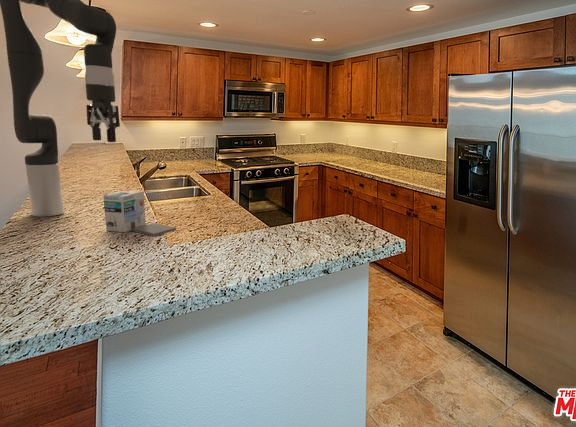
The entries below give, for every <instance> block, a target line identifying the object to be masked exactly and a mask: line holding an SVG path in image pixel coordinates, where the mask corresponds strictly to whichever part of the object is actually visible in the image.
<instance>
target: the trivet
mask: <svg viewBox="0 0 576 427" xmlns="http://www.w3.org/2000/svg"><path fill="white" fill-rule="evenodd" d="M131 231H132V232H136V233H139V234H142V235H147V236H151V237H157V236H161V235H163V234H164V235H165V234H168V233H172V232H176V231H177V227H174V226H169V225H164V224H162V223H157V222H152V223H151V222H150V223H146V225H143V226H138V227H134V228H132V230H131Z"/></svg>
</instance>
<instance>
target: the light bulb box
mask: <svg viewBox="0 0 576 427" xmlns="http://www.w3.org/2000/svg"><path fill="white" fill-rule="evenodd" d="M102 198H103V206H104V208H103V209H104V218H105V219H104V220H105V229H106V231H107V232H119V233H128V232H130V231H132V228H134V227H138V226H143V225H147V223H146V209H145V208H146V206H145V192H144V191H143V190H132V189H131V190H129V189H123V190H120V191H116V192H111V193H107V194H103V197H102Z"/></svg>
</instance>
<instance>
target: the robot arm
mask: <svg viewBox="0 0 576 427" xmlns="http://www.w3.org/2000/svg"><path fill="white" fill-rule="evenodd" d="M21 3H23V4H26V5H31V6H33V5H34V6H37V7H38V6H39V7H43V8H46V9H48V10H49V11H50V13H52V14H53V15H54V16H56V17H57V18H59V19H60V20H62V21H65V22H67V23H69V24H70V25H71V26H73V27H74V28H76V29H77V30H78V31H80V32H83V33H85V34H88V35H91V36H96V38H95V42H94V43H88V44H85V46H84V47H83V56H84V66H85V67H84V80H85V93H86V99H87V100H88V101H89V102H91V103H92V104H86V123H87V125H88V126H90V128H91V130H92V139H93V141H101V140H102V133H101V125H102V123H103V124H104V125H105V127H106V139H107V143H116V142H117V136H116V135H117V134H116V129H118V128H120V126H121V122H120V114H119V113H120V111H119V106H118V105H115V104H114V105H113V104H112V103H114V102H116V87H115V77H114V75H115V74H114V71H113V70H114V69H113V56H112V53H113V50H114V44H115V40H116V35H117V24H116V21H115V18H114V16H113V15H112V14H111V13H110V12H107V11H106V10H102V9H100V8H96V7H94V6H92V5H89V4H86V3H84V2H83V1H82V0H0V11H1V15H2V21H3V27H4V34H5V43H6V44H5V45H6V55H7V62H8V68H9V69H8V70H9V75H10V76H9V77H10V82H11V91H12V107H13V109H12V112H13V115H12V116H13V127H14V128H13V129H14V134H15V136H16V138H17V141H18V142H20V143H22V144H41V147H40V148H39V149H38V150H36V151H34V152H31V153H29V154H26V155H25V156H24V164H25V172H26V179H27V185H28V193H29V199H30V208H31V216H33V217H40V218H41V217H43V218H44V217H53V216H60V215H62V214H64V213H65V209H64V201H63V191H62V182H61V175H60V166H59V147H58V132H57V130H58V129H57V125H56V122H55V119H54V118H53V116H51V115H47V114H38V113H37V114H36V113H35V114H33V113H30V112H29V111H30V101H31V99H32V96H33V95H34V92H35V91H36V90H37V87H38V86H39V84H40V83H41V81H42V80H43V78H44V76H45V72H46V70H45V61H44V52H43V49H42V47H41V44H40V43H39V41H38V39H37V38H36V37H35V35H34V33H33V31H32V30H31V28H30V27H29V26H28V24H27V22H26V19H25V18H24V15H23V11H22V7H21Z"/></svg>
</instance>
